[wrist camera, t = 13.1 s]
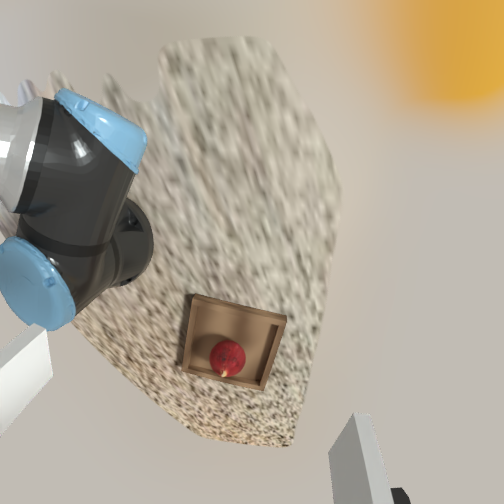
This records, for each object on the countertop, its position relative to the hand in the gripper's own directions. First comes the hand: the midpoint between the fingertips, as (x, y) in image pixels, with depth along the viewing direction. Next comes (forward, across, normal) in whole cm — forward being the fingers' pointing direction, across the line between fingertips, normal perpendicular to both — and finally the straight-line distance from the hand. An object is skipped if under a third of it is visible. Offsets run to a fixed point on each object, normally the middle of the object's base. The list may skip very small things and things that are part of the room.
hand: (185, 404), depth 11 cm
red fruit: (+36, +1, -21) cm, 42 cm away
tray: (+37, +1, -21) cm, 42 cm away
